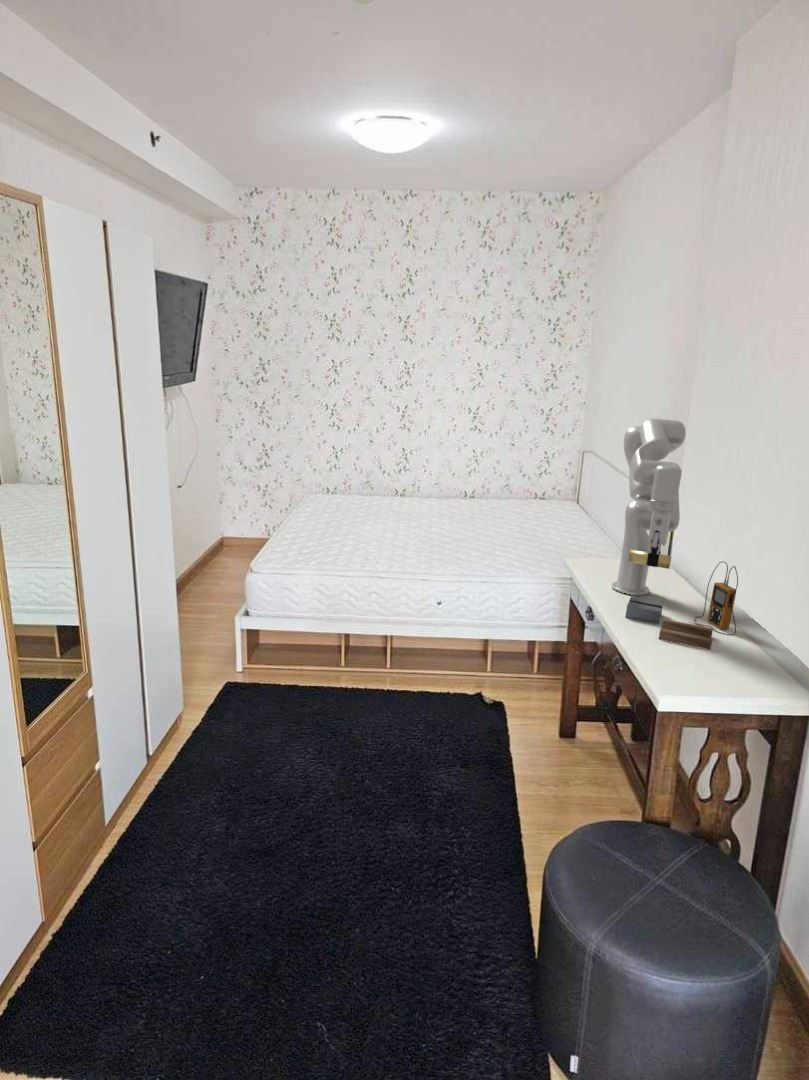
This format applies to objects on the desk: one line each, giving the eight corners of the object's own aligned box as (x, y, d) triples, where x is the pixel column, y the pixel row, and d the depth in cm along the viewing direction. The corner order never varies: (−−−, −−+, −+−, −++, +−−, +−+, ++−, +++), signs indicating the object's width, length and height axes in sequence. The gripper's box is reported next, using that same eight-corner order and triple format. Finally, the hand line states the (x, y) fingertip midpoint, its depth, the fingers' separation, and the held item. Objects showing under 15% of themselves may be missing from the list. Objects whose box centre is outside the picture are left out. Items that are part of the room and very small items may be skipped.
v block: (629, 608, 234) (631, 596, 233) (661, 614, 230) (663, 602, 229) (625, 617, 225) (627, 605, 224) (658, 624, 221) (660, 612, 220)
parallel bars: (661, 626, 220) (663, 618, 219) (711, 636, 214) (712, 628, 214) (658, 638, 209) (660, 630, 209) (710, 649, 204) (712, 641, 204)
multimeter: (679, 617, 229) (690, 556, 223) (707, 617, 231) (719, 557, 226) (707, 635, 215) (719, 571, 210) (736, 635, 217) (749, 572, 212)
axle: (627, 563, 224) (629, 552, 222) (629, 558, 227) (631, 547, 226) (668, 571, 220) (670, 559, 218) (669, 565, 223) (671, 553, 221)
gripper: (673, 512, 209) (663, 573, 214) (677, 503, 224) (667, 560, 229) (646, 509, 212) (636, 568, 217) (651, 500, 227) (642, 556, 232)
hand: (652, 563), depth 223 cm, fingers closed on axle, 4 cm apart
